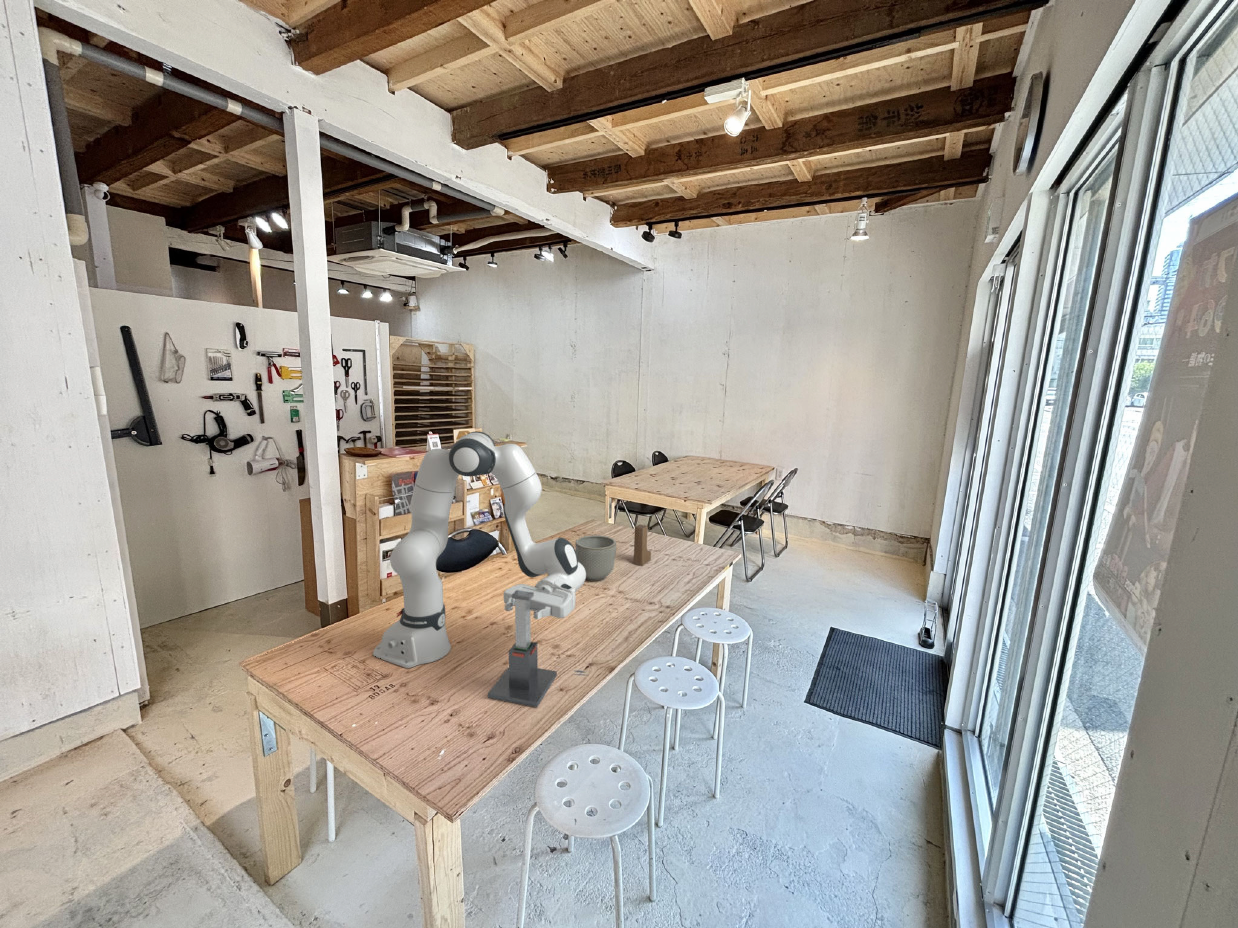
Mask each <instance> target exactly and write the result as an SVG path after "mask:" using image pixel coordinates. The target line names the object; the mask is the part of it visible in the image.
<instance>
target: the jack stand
mask: <svg viewBox="0 0 1238 928" xmlns="http://www.w3.org/2000/svg"><path fill="white" fill-rule="evenodd" d="M515 647H516V642H514V644H513V645H512V647H511V648H510V649H509V650H508V667H507V668H506V669H505V671H504V672H503V673H502V674H501V676H500V677H499V679H498V680H497V681H496V682H495V683H494V685H493V686H492V687H491V688H490V690H489V691H488V692H487V698H488V699H491V700H497V701H500V702H501V701H502V702H508V703H511V704H518V705H522V706H526V707H527V706H528V707H533V708H538V707H539V705H540V704H541V702H542V701H543V699H544V698H545V696H546V694H548V693H547V692H548V691H549V689H550V688H551V686H552V684H553V683H554V681H555V679H556V677H557V676H558V675H557V672H558V670H550V669H546V668H545V669H544V668H539V667H538V665H539V663H538V661H539V659H538V642H534V641H531V647H530V648H529V649H528V651H527V652H526V651H520V650H515Z"/></svg>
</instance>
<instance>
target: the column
mask: <svg viewBox="0 0 1238 928" xmlns="http://www.w3.org/2000/svg"><path fill="white" fill-rule="evenodd" d="M533 596H534V592H526V591H519V590H516V591H515V592H514V593H513V594H512V599H515V606H514V608H515V609H514V611H515V612H514V613H515V615H514V616H515V618H514V623H515V624H514V625H515V629H514V630H515V643H516V647H515V650H520V651H526V652H527V651H528V649H529V648H530V647H531V642H532V641H531V640H532V639H531V634H532V633H531V627H532V626H531V610H530V599H531V598H532V597H533Z"/></svg>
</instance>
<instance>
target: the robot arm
mask: <svg viewBox="0 0 1238 928" xmlns="http://www.w3.org/2000/svg"><path fill="white" fill-rule="evenodd" d="M489 474H492V475H493V476H494V477H495V479H496V480H497V482H498V485H499V487H500V488H501V490H502V493H503V497H504V504H503V506H502V507H503V508H502V511H503V516H504V519H505V520H504V521H505V523H506V525H507V529H508V531H509V532H508V533H509V535H510V538H511V540H512V543H513V545H514V549H515V553H516V558H517V562H518V567H519V569H520V570H521V572H522V573H523V574H524V575H526V576H527V577H529V578H536V577H540V576H543V575H546V574H547V576H545V577H543V578H542V579H541V580H539V581H537V583H535V585H534V586H533V585H530V584H526V583H520V584H515V585H513V586H511V587H509V588H507V589H505V590H504V591H503V602H504V606H503V607H504V611H506V612H507V611H508V612H511V611H513V610H514V607H515V599H512V594H513V593H514V592H515V591H516V590H519V591H526V592H534V596H533V597H532V598H531V599H530V612H533V619H534V620H541V619H542V618H546V617H549V616H550V617H554V618H557V619H564V618H566V617H568V616H569V615H570V613H572V612H573V611H574V610H575V608H576V600H577V599H576V593H577V591H578V590H579V589H581V588H582V586H583V585H584V583H585V582H586V571H585V568H584V567H583V565H582V564H581V563H579V562H578V558H577V554H576V549H575V546H573V544H572V543H571V542H570V540H568V539H566V538H564V537H558V538H554V539H549V540H546V541H542V542H538V543H536V542H534V541H533V539H532V537H531V534H530V531H529V528H528V524H527V522H526V514H527V512H528V511H529V510H530V509H532V508H533V507H534V506H535V504H536V503H538V502H539V499H540V498H541V495H542V489H543V488H542V487H543V486H542V483H541V480H540V478H539V476H538V474H537V471H536V469H535V467H534V466H533V464H532V462H531V461H530V459H529V458H528V456H527V454H526V453H525V452H524V450H523V449H522V448H521V446H520V445H518V444H516V443H506V444H502V445H499V446H496V444H495V441H494V440H493V438H492V436H490V435H489V434H487V433H486V432H484V431H475V430H474V431H471V432H469V433H466V434H464V435H463V436H461V437H460V438H458V440H457V441H456V442H454V444H453V445H452V446H451V447H450V449H445V448H434V449H430V450H428V451H427V452H426V453H425V455H424V456H423V458H422V461H421V462H420V465H419V468H418V471H417V474H416V477H415V482H414V487H413V492H412V497H411V499H410V500H411V501H410V504H409V511H410V512H411V525H410V529H409V531H408V533H407V534H406V536H404V537H403V538H401V539H400V540H399V541H398V542H397V543H396V545H395V547H394V548H393V550H392V551H391V555H390V557H389V558H390V559H389V563H390V566H391V568H392V570H393V572H395V573H396V574H397V575H398V577H399V579H400V581H401V585H402V593H403V607H402V608H401V610H400V611H398V612H397V613H396V617H397V618H399V616H400V619H398V620H397V621H396V622H395V623H393V624H392V625H390V626H389V627H388V628H387V629H386V630H385V631H384V633H383V635H382V636H381V641H380V643H379V644H378V645H377V646H376V647H375V648H374V650H373V655H372V656H373V657H375V656H376V657H375V658H377V659H380V658H381V660H383V661H386V662H389V663H391V664H393V665H394V664H395V665H397V666H399V667H403V668H406V669H411V668H413V667H416V666H419V665H425V664H428V663H432V662H436V661H438V660H441V659H442V658H444V657H446V655H448V653H449V652H451V649H452V645H451V643H450V640H449V637H448V633H447V628H446V605H445V603H444V587H443V586H444V585H443V581H442V579H441V578H440V577H439V576H440V575H439V574H438V571H437V560H438V557H440V555H441V554H442V553H443V552H444V550H445V549H446V547H447V544H448V541H449V523H450V522H449V520H450V513H451V509H452V508H451V507H452V504H453V500H454V496H455V491H456V487H457V481H458V478H459V476H462V477H477V476H486V475H489Z"/></svg>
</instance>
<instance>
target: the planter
mask: <svg viewBox="0 0 1238 928" xmlns="http://www.w3.org/2000/svg"><path fill="white" fill-rule="evenodd" d="M574 549H575V551H576V554H577V558H578V562H579V563H581V564H582V565H583V567H584V568H585V571H586V578H585V580H587V581H589V582H590V581H591V582H601V581H604V579H606V577H608V576H609V575H610V574H611V573H612V572H613V570H614V567H615V560H616V554H617V553H616V551H617V541H616V539H614V538H613V537H610V536H606V535H600V534H594V535H593V534H592V535H585V536H581V537H579V538H577V539H576V540H575V545H574Z"/></svg>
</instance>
